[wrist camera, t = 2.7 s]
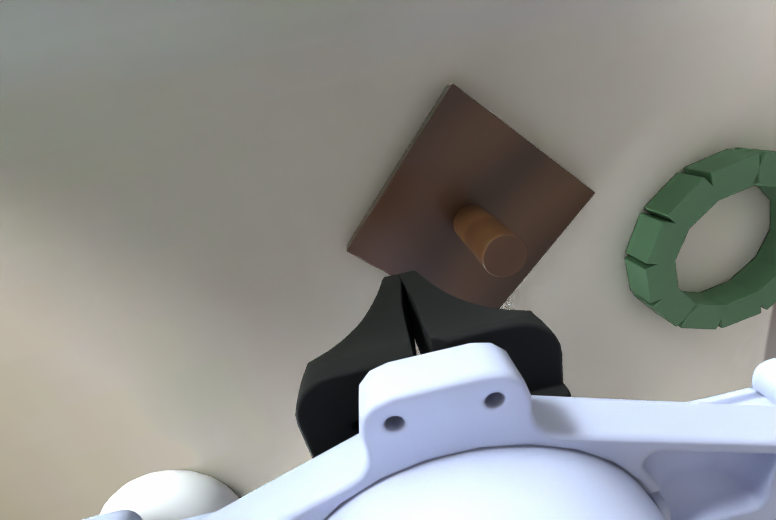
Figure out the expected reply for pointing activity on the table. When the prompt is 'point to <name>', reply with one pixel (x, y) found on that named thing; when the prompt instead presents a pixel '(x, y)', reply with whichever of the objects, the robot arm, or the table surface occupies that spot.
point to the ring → (670, 226)
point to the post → (469, 205)
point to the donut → (171, 495)
